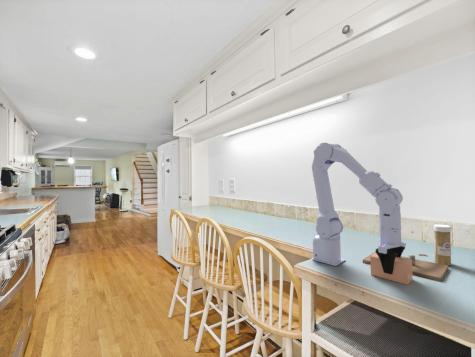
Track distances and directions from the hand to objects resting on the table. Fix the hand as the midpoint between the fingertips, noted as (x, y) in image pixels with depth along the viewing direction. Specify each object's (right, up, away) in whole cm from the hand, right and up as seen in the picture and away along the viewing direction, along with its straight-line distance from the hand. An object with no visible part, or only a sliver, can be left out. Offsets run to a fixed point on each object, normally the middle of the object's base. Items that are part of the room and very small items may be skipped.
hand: (390, 270), depth 75 cm
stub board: (+10, -2, +9) cm, 13 cm away
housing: (0, -2, 0) cm, 2 cm away
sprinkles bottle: (+24, -1, +9) cm, 26 cm away
